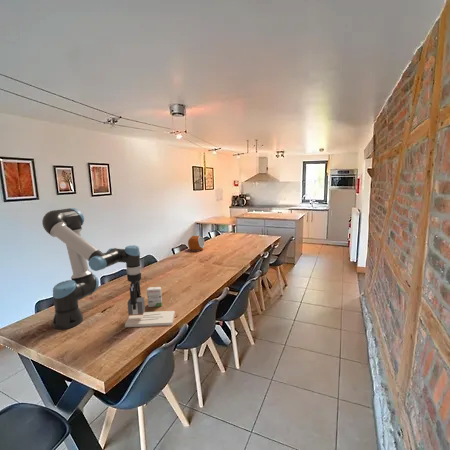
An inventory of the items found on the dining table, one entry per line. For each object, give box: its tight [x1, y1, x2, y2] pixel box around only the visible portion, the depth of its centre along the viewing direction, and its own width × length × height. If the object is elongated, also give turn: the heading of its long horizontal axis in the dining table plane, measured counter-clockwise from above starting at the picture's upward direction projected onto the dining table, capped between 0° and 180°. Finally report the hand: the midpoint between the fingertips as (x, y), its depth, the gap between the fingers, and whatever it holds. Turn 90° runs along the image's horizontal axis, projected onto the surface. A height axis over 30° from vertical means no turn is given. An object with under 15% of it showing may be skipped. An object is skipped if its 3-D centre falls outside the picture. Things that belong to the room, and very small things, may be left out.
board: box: [124, 310, 176, 328], centre depth 161 cm, size 26×14×2 cm, turn 94°
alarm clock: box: [187, 234, 205, 252], centre depth 319 cm, size 19×18×17 cm
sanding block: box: [127, 296, 146, 317], centre depth 159 cm, size 8×6×8 cm
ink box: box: [146, 286, 163, 308], centre depth 179 cm, size 9×5×12 cm, turn 96°
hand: (136, 311), depth 159 cm, fingers closed on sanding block, 6 cm apart
